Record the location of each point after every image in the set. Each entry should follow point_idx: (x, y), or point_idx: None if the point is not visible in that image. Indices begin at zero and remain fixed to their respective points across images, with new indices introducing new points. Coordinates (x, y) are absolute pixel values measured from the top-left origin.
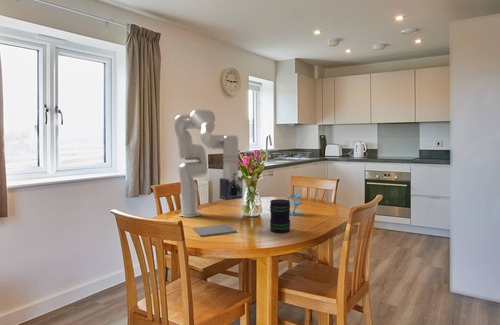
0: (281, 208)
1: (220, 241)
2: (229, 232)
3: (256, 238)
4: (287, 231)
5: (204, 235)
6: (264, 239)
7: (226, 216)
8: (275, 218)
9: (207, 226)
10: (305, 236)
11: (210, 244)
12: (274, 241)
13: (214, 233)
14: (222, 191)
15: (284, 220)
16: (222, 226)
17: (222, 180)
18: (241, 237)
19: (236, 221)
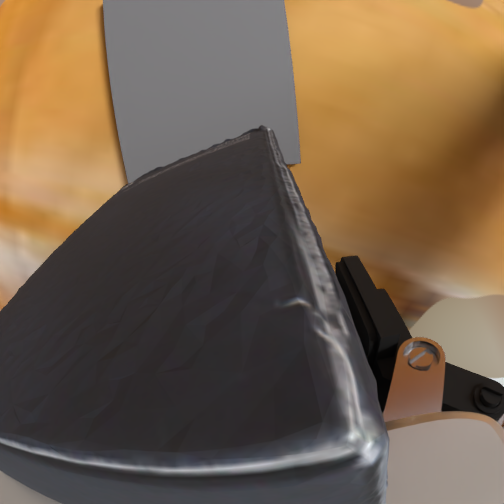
0: None
1: (22, 93)
2: (121, 143)
3: (40, 242)
4: None
5: (104, 15)
6: (31, 264)
7: (473, 222)
8: None
9: (282, 40)
10: None
11: (3, 57)
12: (17, 285)
13: (109, 62)
14: (157, 187)
15: None
16: (248, 125)
17: (26, 387)
18: (54, 188)
19: (365, 239)
